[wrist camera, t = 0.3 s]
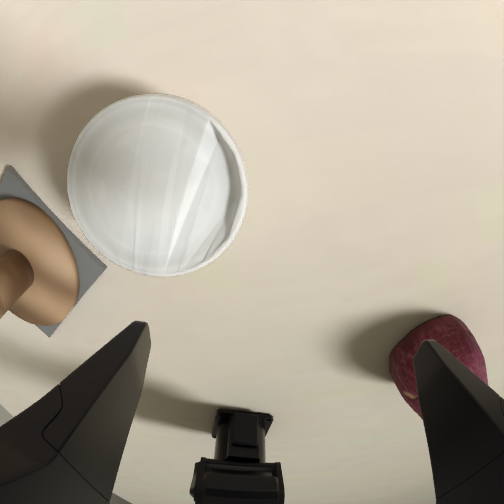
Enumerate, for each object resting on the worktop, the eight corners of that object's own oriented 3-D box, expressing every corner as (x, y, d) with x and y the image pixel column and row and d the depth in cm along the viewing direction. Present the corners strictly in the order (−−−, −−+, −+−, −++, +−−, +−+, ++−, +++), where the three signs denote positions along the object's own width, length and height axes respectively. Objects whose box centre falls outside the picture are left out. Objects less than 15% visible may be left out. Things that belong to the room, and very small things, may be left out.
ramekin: (263, 229, 24) (265, 263, 19) (127, 255, 25) (102, 290, 20) (230, 77, 19) (222, 67, 14) (86, 122, 20) (46, 131, 15)
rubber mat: (107, 266, 25) (104, 270, 24) (51, 334, 29) (49, 337, 28) (11, 166, 21) (7, 167, 20) (-25, 254, 25) (-28, 256, 24)
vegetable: (464, 306, 31) (553, 376, 17) (427, 376, 34) (497, 451, 20) (410, 304, 27) (522, 401, 14) (368, 387, 30) (446, 488, 17)
